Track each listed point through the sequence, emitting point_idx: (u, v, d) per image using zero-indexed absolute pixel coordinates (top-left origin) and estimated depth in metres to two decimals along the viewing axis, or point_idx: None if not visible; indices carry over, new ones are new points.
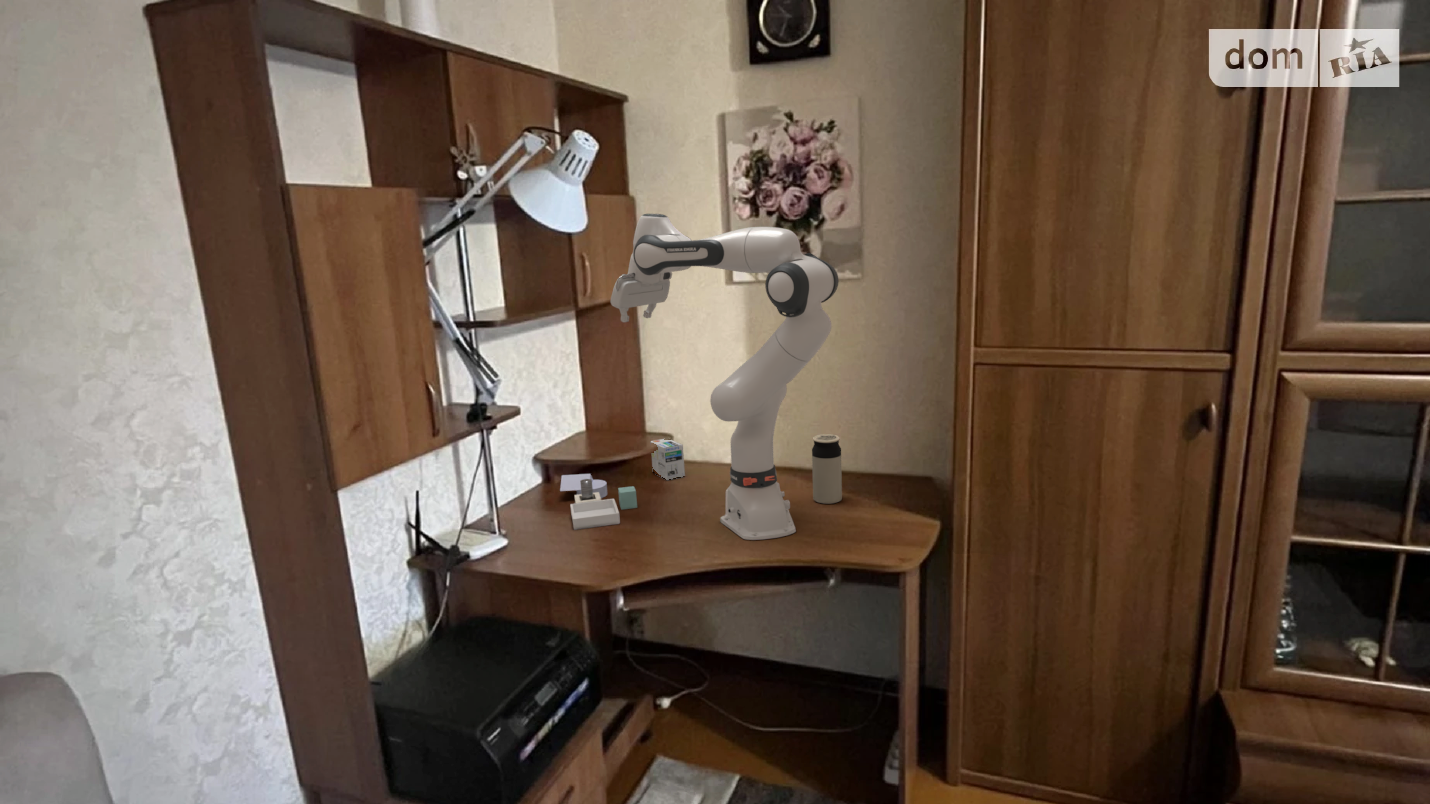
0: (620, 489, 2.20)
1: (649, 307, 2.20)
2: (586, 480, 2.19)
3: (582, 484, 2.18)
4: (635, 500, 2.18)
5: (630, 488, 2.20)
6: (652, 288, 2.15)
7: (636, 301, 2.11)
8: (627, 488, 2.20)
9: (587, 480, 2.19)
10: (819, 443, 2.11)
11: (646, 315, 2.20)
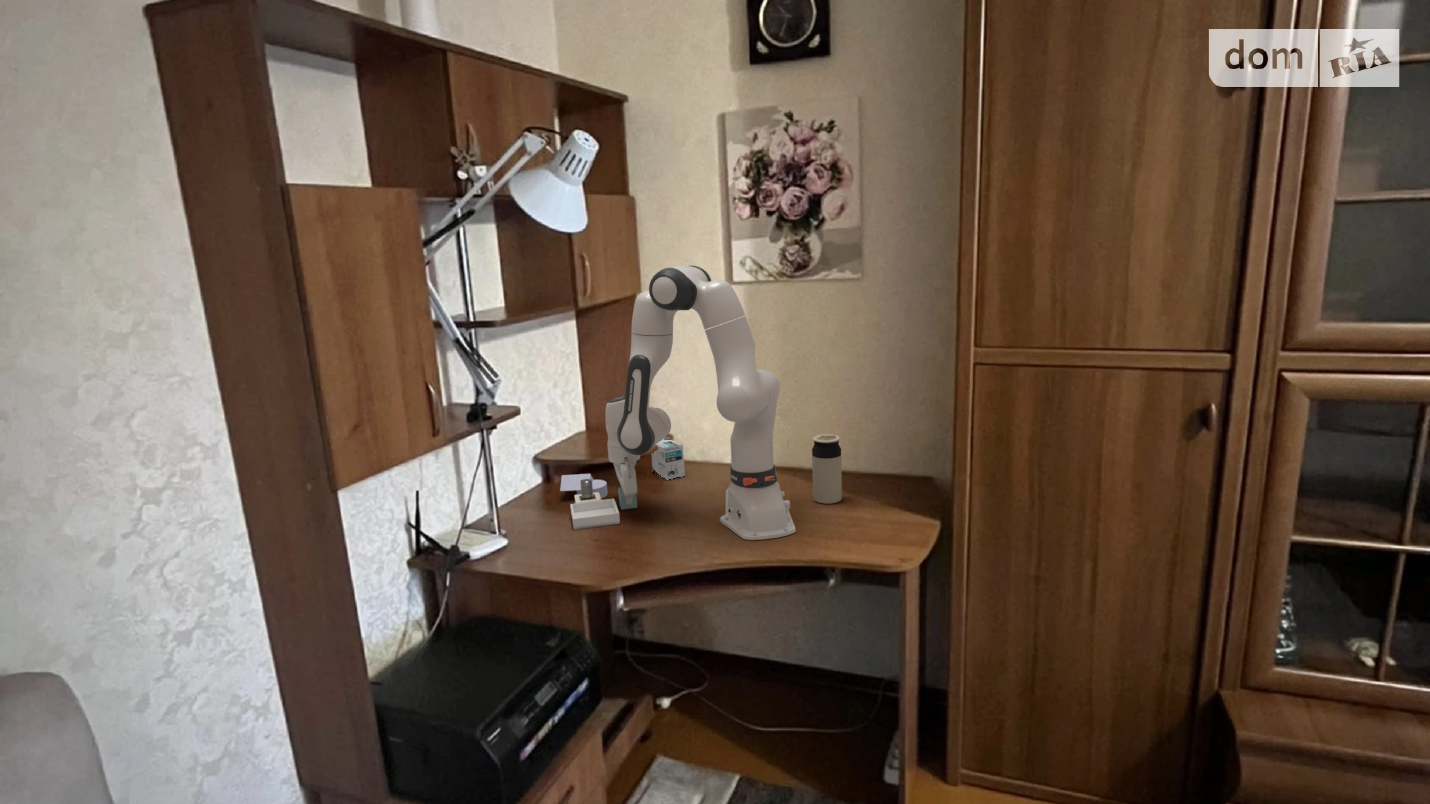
0: (620, 489, 2.20)
1: None
2: (586, 480, 2.19)
3: (582, 484, 2.18)
4: (635, 500, 2.18)
5: None
6: None
7: None
8: None
9: (587, 480, 2.19)
10: (819, 443, 2.11)
11: None
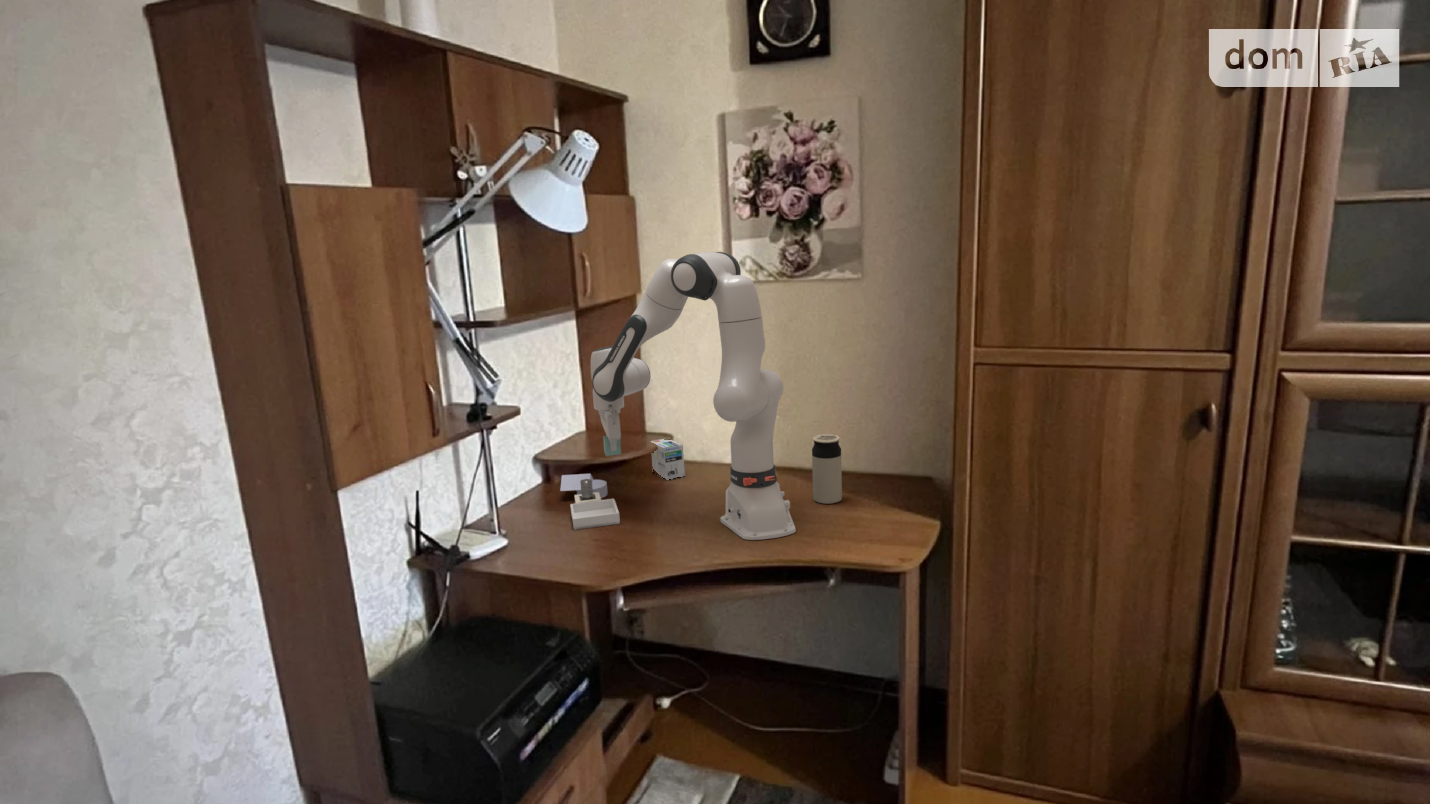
0: (605, 436, 2.28)
1: None
2: (586, 480, 2.19)
3: (582, 484, 2.18)
4: (619, 447, 2.26)
5: None
6: None
7: None
8: None
9: (587, 480, 2.19)
10: (819, 443, 2.11)
11: None
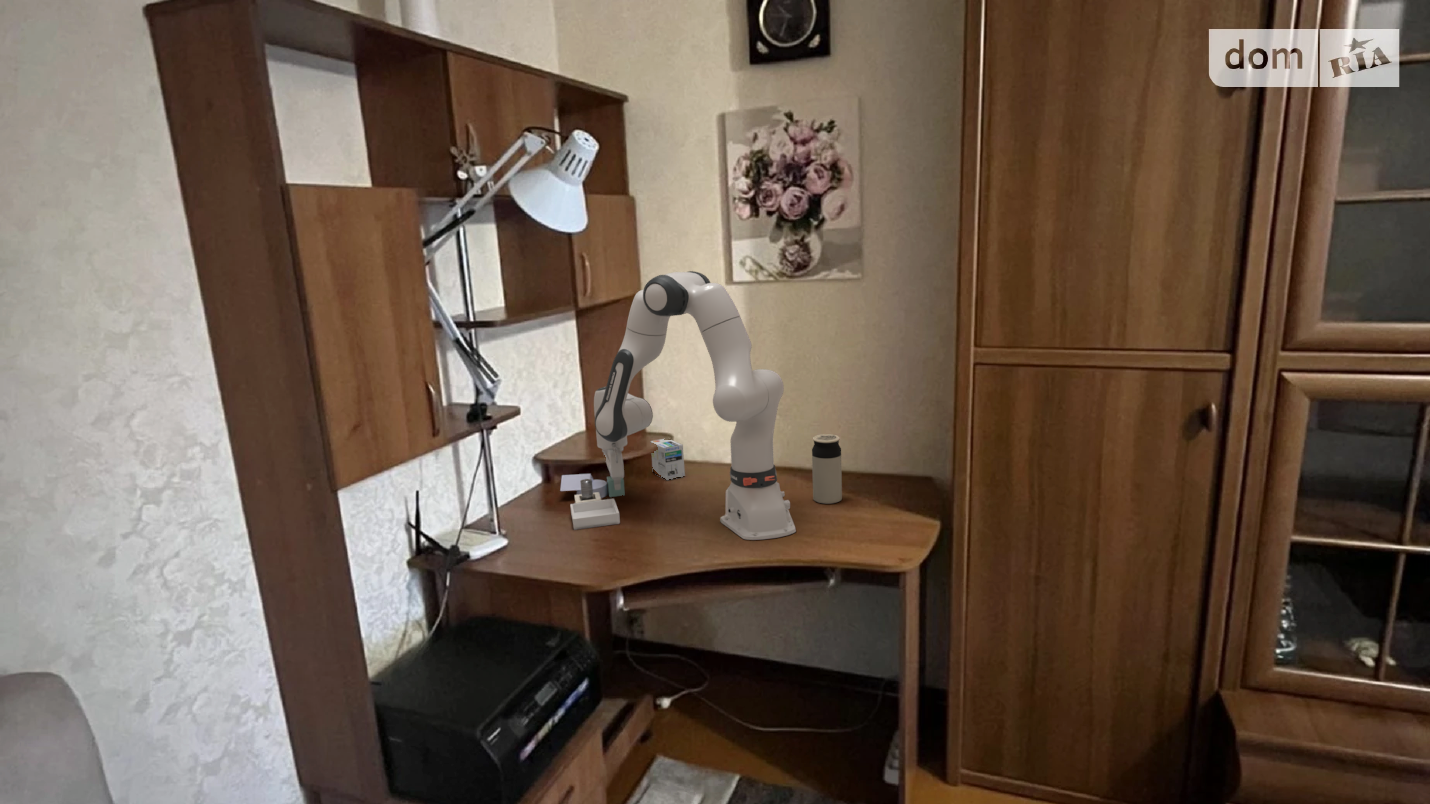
0: (608, 478, 2.31)
1: None
2: (586, 480, 2.19)
3: (582, 484, 2.18)
4: (623, 488, 2.29)
5: None
6: None
7: None
8: None
9: (587, 480, 2.19)
10: (819, 443, 2.11)
11: None
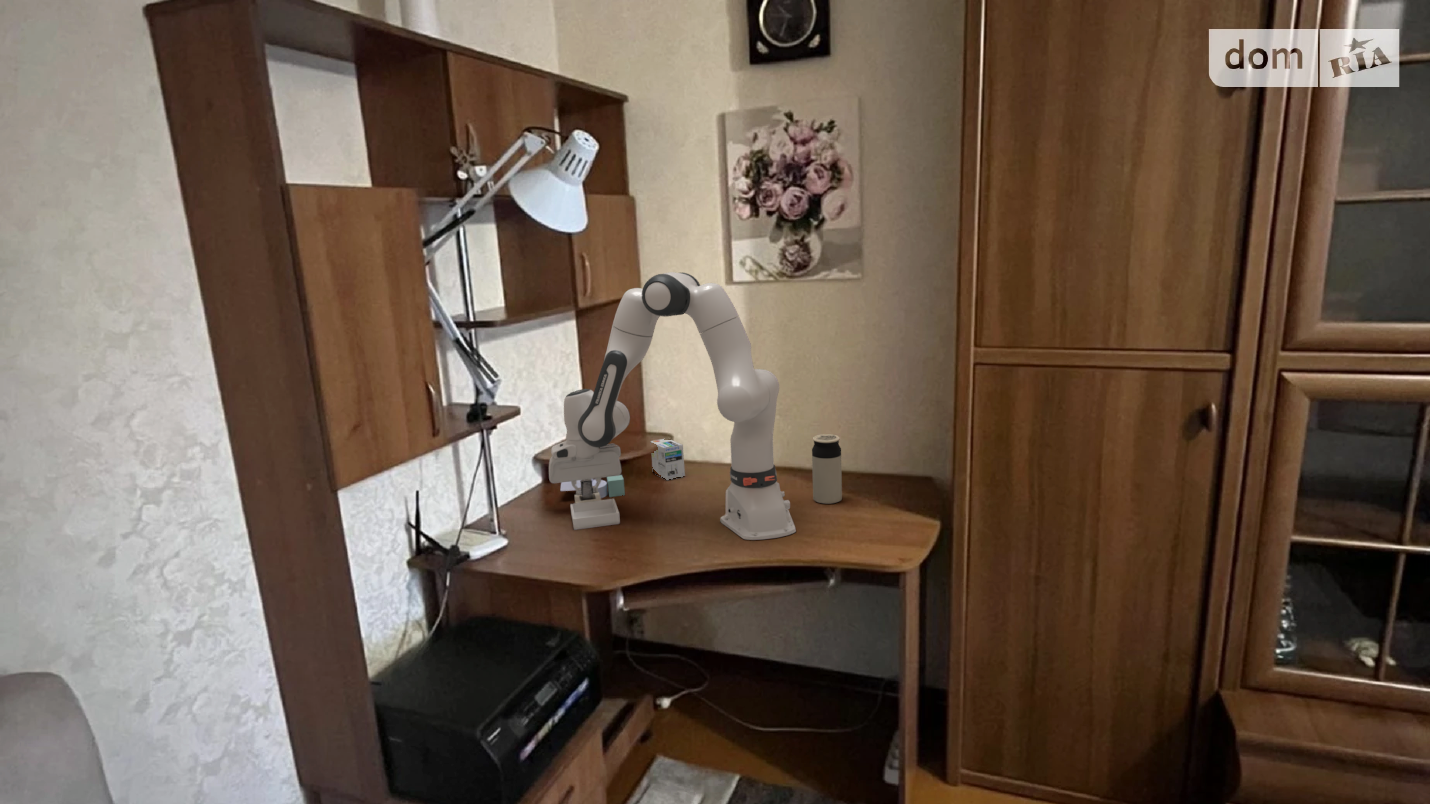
0: (608, 478, 2.31)
1: (575, 485, 2.18)
2: (586, 480, 2.19)
3: (582, 484, 2.18)
4: (623, 488, 2.29)
5: (618, 477, 2.31)
6: None
7: None
8: (615, 477, 2.31)
9: (587, 480, 2.19)
10: (819, 443, 2.11)
11: None
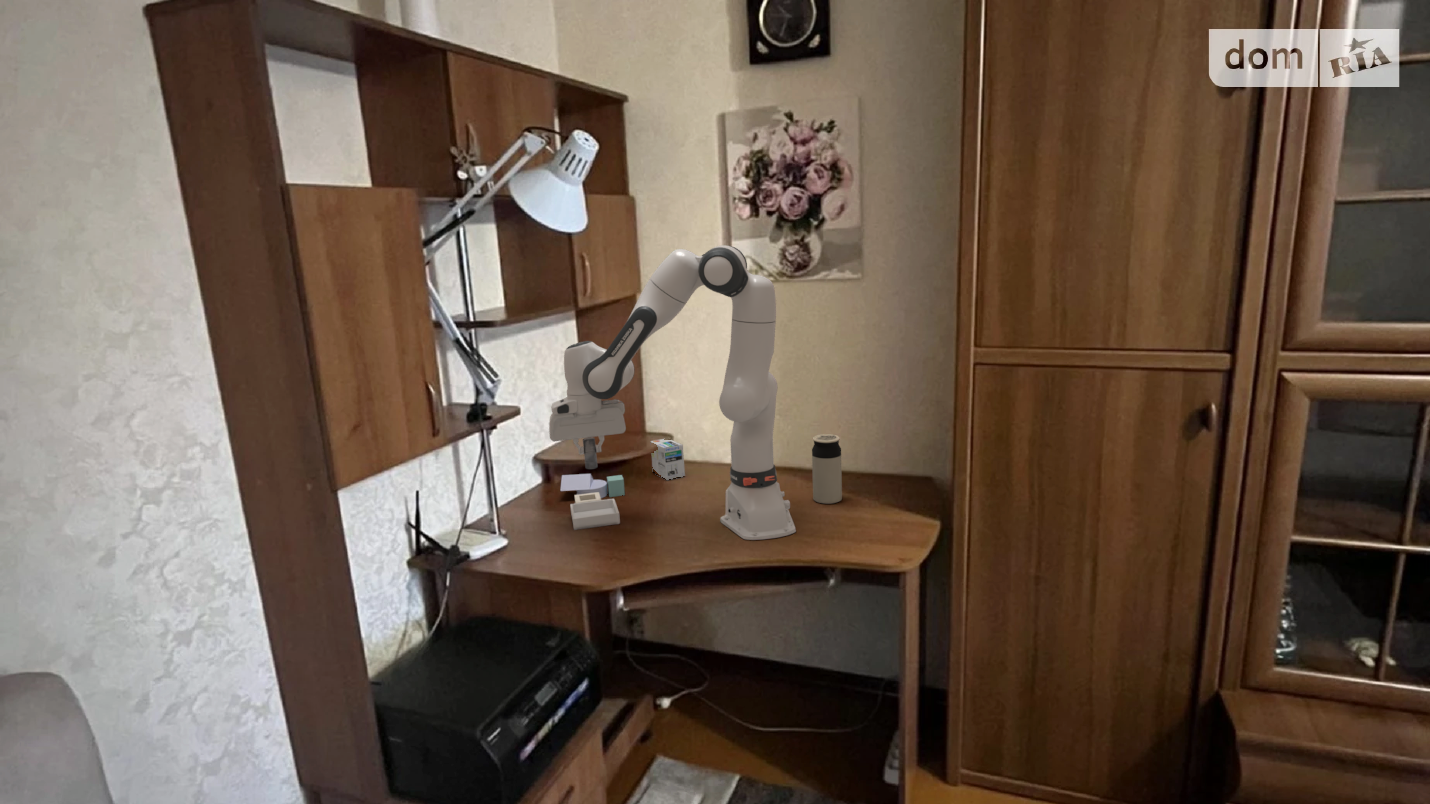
0: (608, 478, 2.31)
1: (578, 444, 2.07)
2: (589, 438, 2.08)
3: (584, 442, 2.07)
4: (623, 488, 2.29)
5: (618, 477, 2.31)
6: None
7: None
8: (615, 477, 2.31)
9: (590, 438, 2.08)
10: (819, 443, 2.11)
11: None
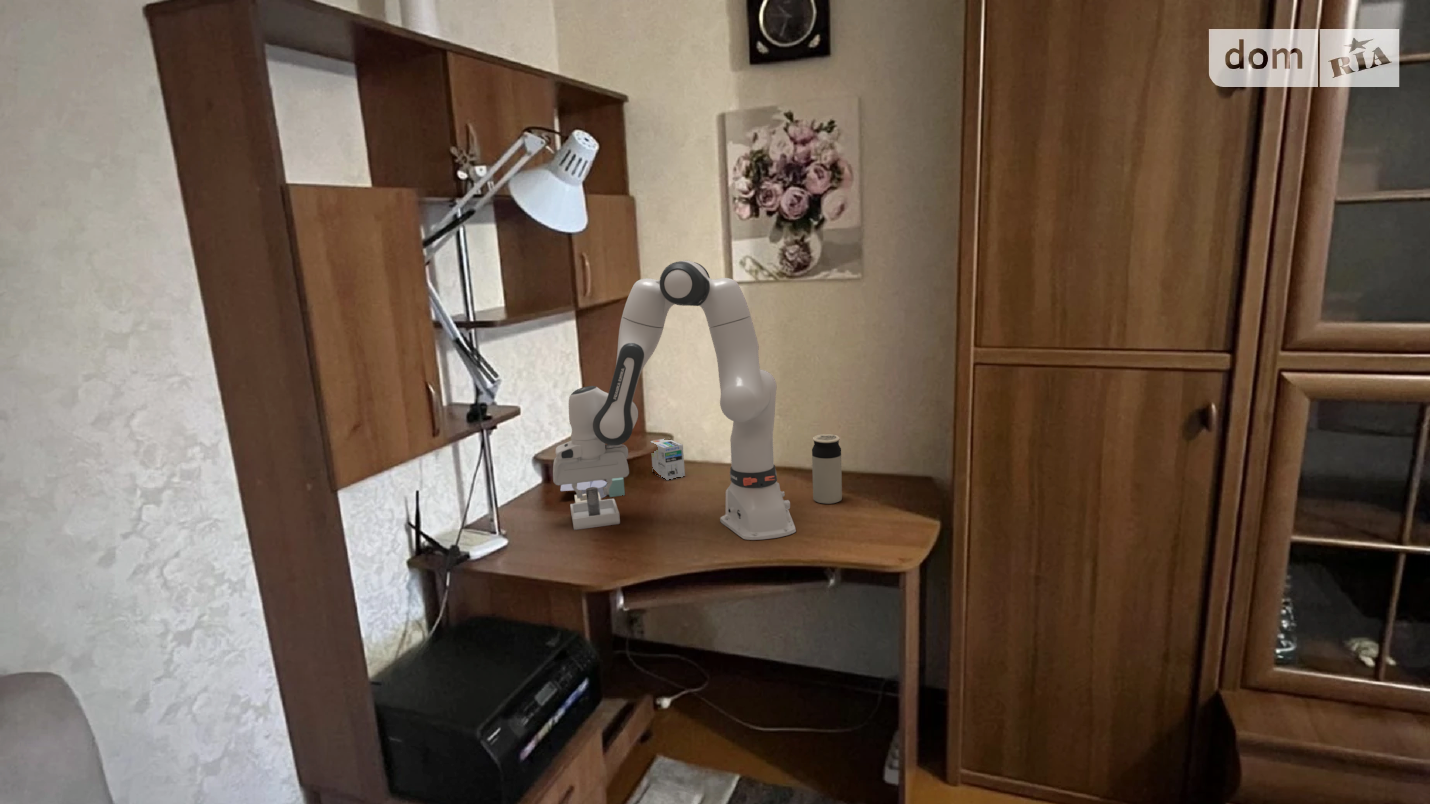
0: None
1: (576, 488, 2.08)
2: (592, 488, 2.10)
3: (588, 493, 2.08)
4: (623, 488, 2.29)
5: None
6: None
7: None
8: None
9: (593, 488, 2.10)
10: (819, 443, 2.11)
11: None
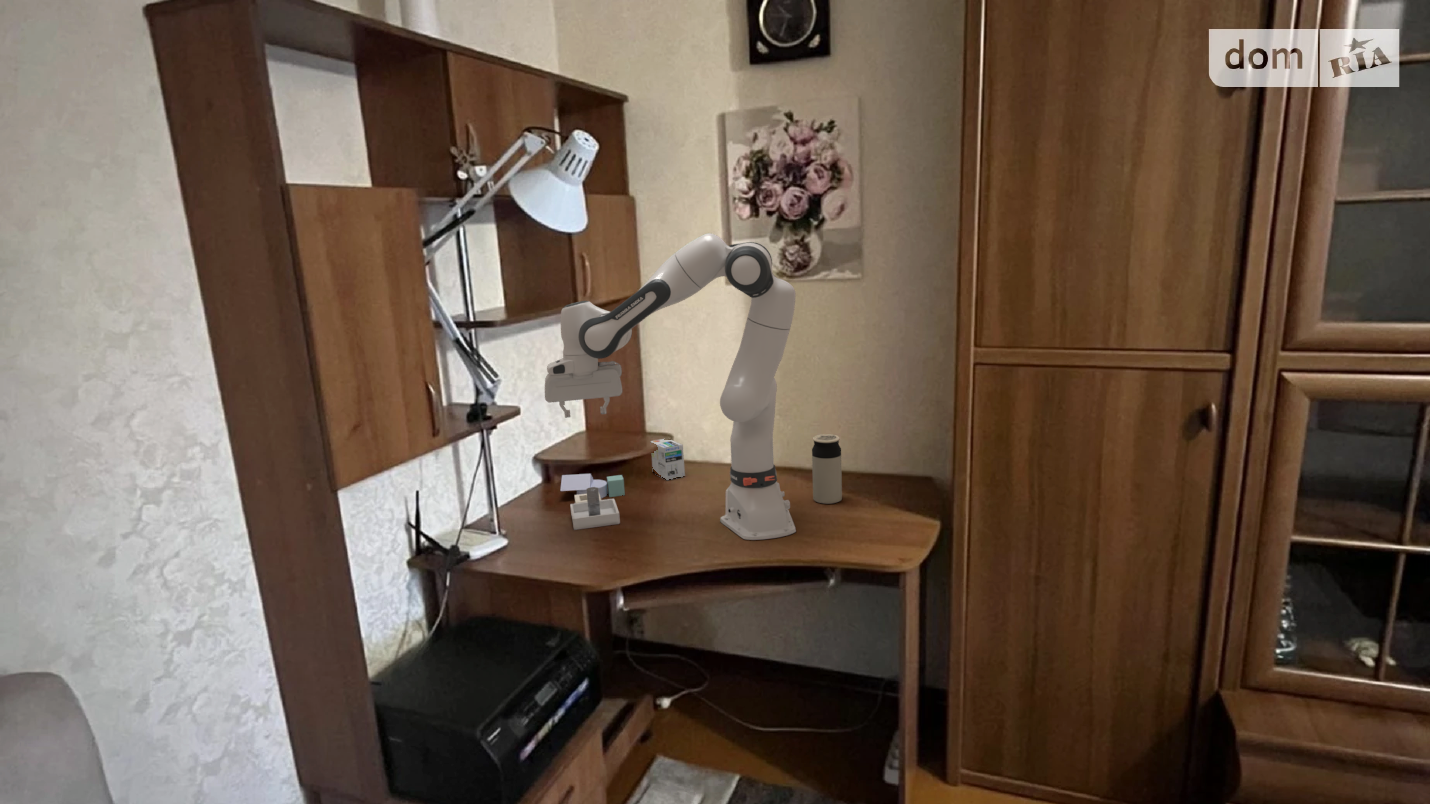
0: (609, 478, 2.31)
1: (564, 407, 2.03)
2: (592, 488, 2.10)
3: (588, 492, 2.09)
4: (623, 488, 2.29)
5: (618, 477, 2.31)
6: None
7: None
8: (615, 477, 2.31)
9: (593, 488, 2.10)
10: (819, 443, 2.11)
11: None
